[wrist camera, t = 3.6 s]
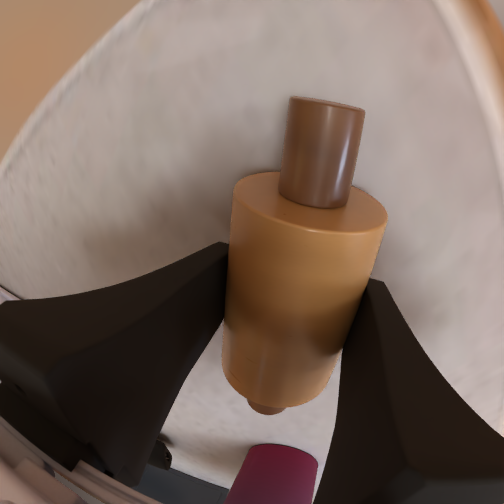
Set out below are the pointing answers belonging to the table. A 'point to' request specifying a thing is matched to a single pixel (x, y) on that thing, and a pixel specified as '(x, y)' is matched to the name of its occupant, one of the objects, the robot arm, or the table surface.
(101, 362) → the robot arm
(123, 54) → the table surface
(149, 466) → the tin
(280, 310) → the rolling pin
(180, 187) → the table surface
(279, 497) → the cup
